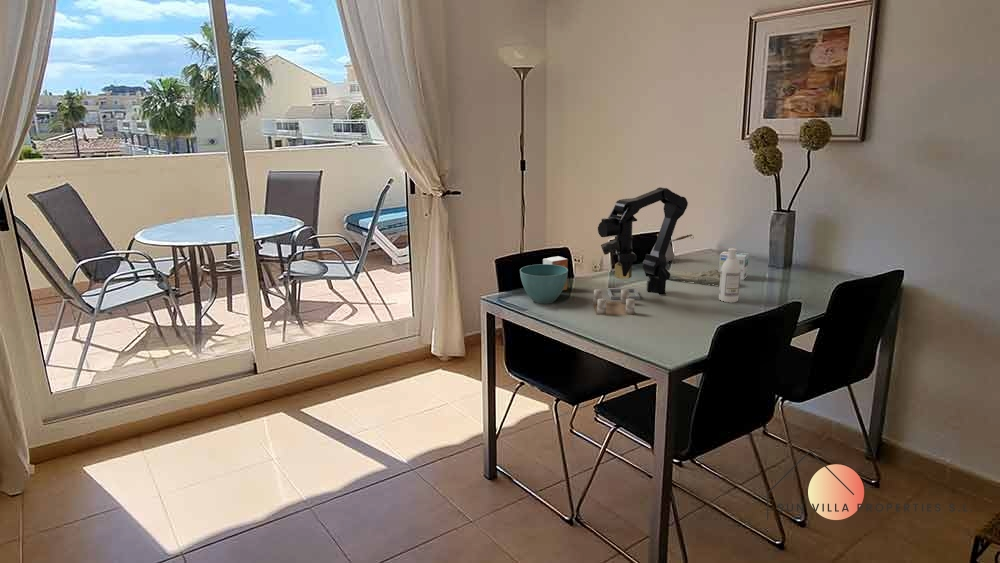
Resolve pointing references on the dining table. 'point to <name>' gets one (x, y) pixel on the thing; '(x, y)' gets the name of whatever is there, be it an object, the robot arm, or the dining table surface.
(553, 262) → the small box
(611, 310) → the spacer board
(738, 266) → the bath foam
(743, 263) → the light bulb box
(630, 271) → the nut
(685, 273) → the elongated rock
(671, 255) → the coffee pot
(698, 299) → the dining table surface
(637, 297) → the tray
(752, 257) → the dining table surface
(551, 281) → the teal bowl
